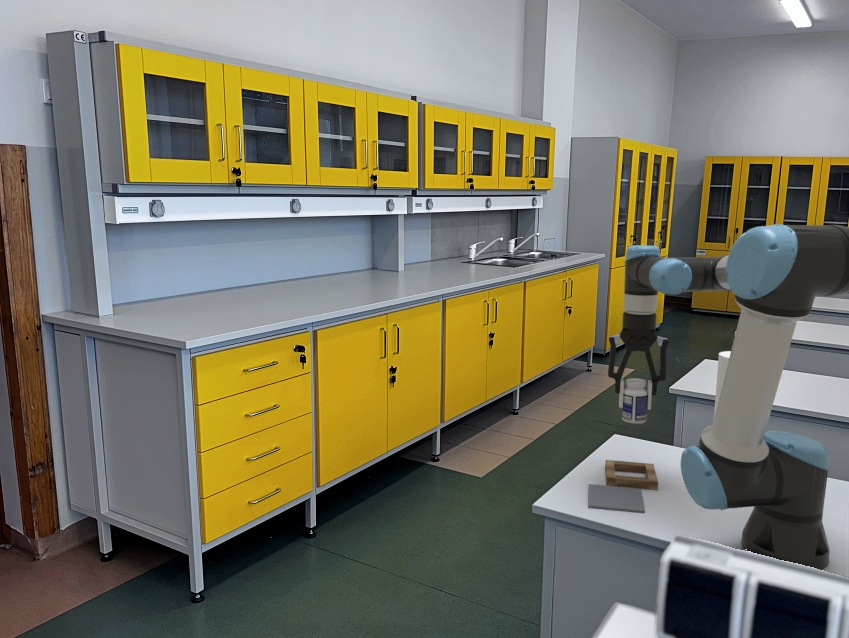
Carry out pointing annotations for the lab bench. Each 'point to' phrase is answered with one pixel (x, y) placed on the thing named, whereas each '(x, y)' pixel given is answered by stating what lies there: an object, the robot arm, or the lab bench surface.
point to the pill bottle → (635, 401)
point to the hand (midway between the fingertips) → (634, 406)
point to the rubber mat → (615, 498)
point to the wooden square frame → (628, 481)
